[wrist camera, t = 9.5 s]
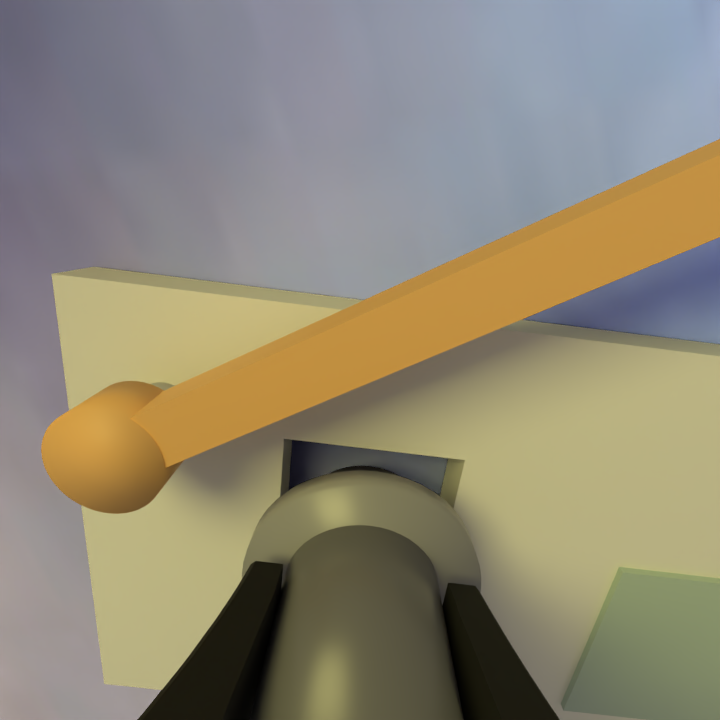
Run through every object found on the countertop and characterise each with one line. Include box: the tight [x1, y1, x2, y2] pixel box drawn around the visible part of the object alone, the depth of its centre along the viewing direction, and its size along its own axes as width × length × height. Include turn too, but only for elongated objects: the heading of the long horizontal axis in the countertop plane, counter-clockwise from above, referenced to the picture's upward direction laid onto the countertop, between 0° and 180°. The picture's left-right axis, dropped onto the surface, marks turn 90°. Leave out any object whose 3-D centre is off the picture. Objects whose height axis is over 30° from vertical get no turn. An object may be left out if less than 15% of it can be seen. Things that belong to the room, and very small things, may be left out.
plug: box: [242, 466, 481, 720], centre depth 9 cm, size 6×6×6 cm
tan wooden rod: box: [41, 139, 720, 514], centre depth 8 cm, size 2×16×1 cm, turn 115°
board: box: [52, 267, 720, 720], centre depth 12 cm, size 14×22×2 cm, turn 83°
